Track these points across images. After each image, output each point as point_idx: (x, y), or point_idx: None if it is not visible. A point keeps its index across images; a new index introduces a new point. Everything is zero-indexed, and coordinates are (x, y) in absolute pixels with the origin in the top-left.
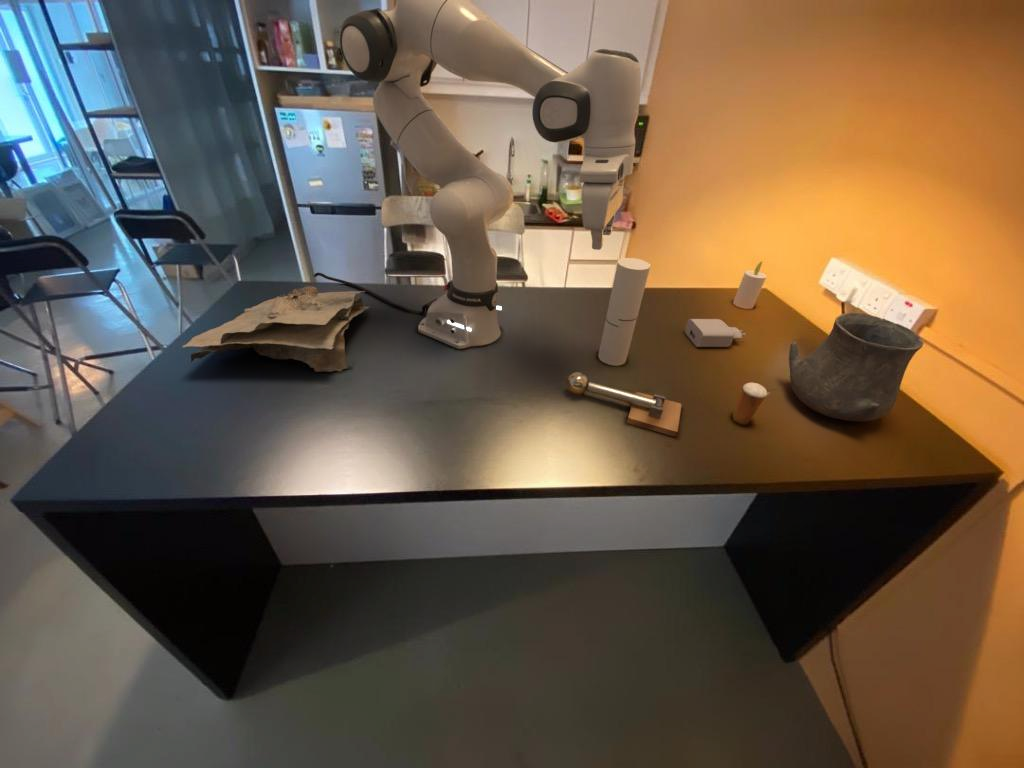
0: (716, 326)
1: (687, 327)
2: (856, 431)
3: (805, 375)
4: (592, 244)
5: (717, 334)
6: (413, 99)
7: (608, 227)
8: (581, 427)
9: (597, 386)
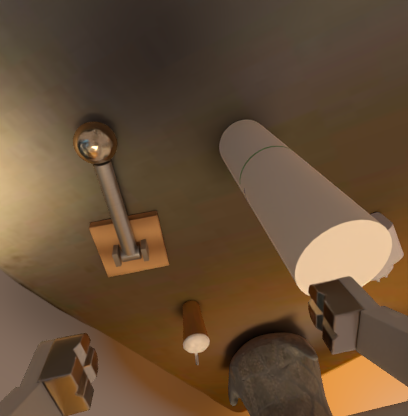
0: None
1: (379, 219)
2: None
3: (263, 362)
4: (31, 361)
5: None
6: None
7: (330, 337)
8: (29, 178)
9: (101, 180)
